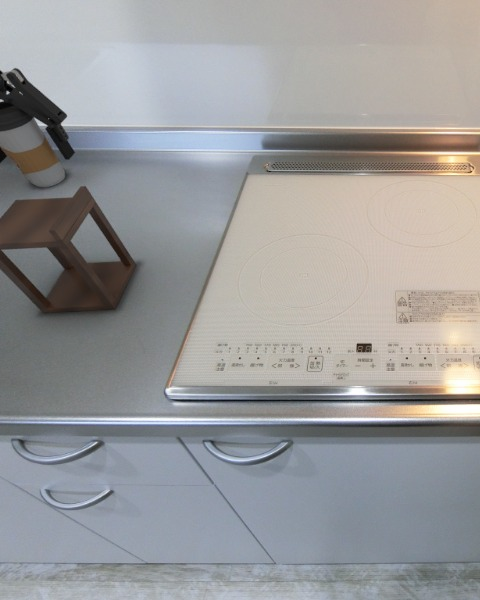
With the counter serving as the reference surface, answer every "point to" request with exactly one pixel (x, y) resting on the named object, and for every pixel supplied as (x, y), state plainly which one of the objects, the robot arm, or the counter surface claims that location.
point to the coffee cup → (28, 147)
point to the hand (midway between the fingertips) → (36, 158)
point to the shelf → (64, 253)
